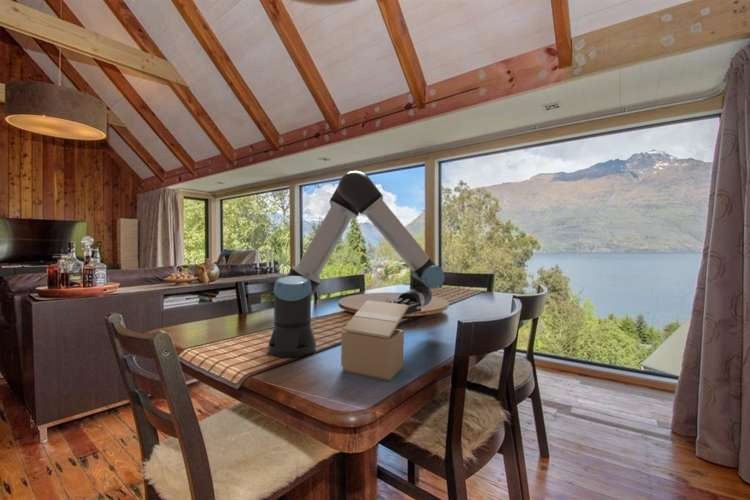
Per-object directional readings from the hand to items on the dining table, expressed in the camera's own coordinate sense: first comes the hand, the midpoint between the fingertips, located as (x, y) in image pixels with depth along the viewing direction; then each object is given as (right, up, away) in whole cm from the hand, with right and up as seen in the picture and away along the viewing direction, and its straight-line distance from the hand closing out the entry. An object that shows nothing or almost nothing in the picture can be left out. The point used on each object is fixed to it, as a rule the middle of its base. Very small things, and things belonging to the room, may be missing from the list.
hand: (383, 315), depth 101 cm
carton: (-3, -14, -5) cm, 16 cm away
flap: (-2, 0, -4) cm, 4 cm away
